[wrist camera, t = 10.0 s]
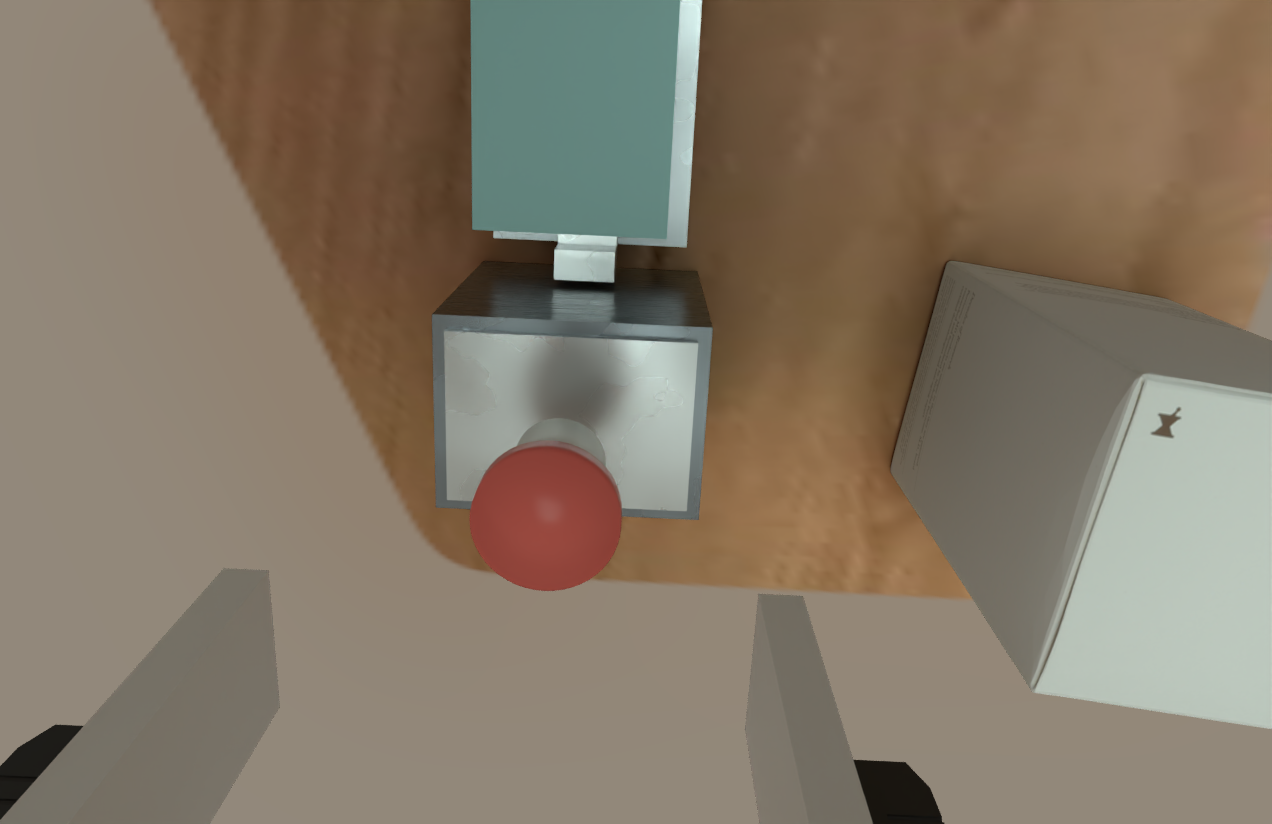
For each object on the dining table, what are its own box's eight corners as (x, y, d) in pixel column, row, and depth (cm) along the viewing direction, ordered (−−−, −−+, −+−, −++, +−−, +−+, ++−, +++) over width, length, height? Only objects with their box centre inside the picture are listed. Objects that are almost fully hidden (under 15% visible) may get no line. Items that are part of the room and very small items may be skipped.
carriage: (522, -24, 32) (470, -72, 22) (673, -17, 32) (683, -62, 22) (521, 191, 34) (472, 229, 25) (661, 198, 34) (666, 239, 25)
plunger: (495, 396, 25) (469, 449, 21) (627, 403, 25) (624, 456, 21) (495, 517, 26) (469, 587, 22) (622, 523, 26) (618, 594, 22)
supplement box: (881, 475, 38) (1018, 701, 24) (943, 255, 36) (1139, 364, 21) (1100, 513, 39) (1360, 756, 25) (1178, 298, 36) (1523, 433, 22)
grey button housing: (483, 261, 36) (429, 316, 27) (697, 271, 36) (713, 330, 27) (483, 413, 38) (434, 511, 29) (687, 422, 38) (699, 524, 29)
